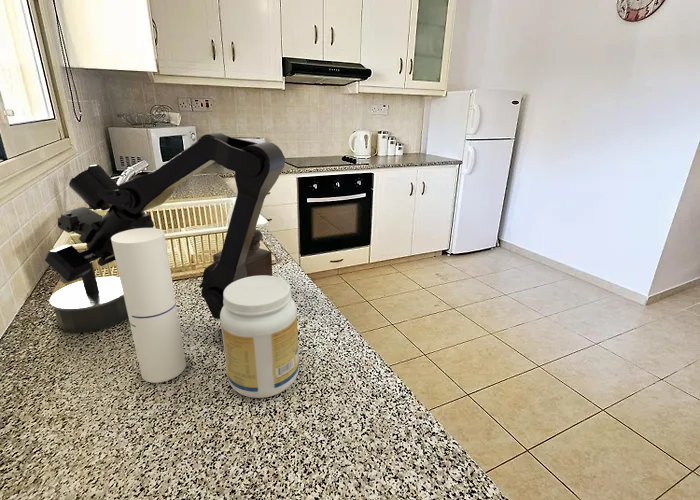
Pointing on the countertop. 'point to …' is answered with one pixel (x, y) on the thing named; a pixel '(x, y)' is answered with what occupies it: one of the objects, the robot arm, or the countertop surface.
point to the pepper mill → (255, 258)
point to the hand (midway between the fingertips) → (82, 272)
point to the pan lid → (88, 293)
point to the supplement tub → (260, 335)
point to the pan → (92, 317)
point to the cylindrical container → (150, 302)
